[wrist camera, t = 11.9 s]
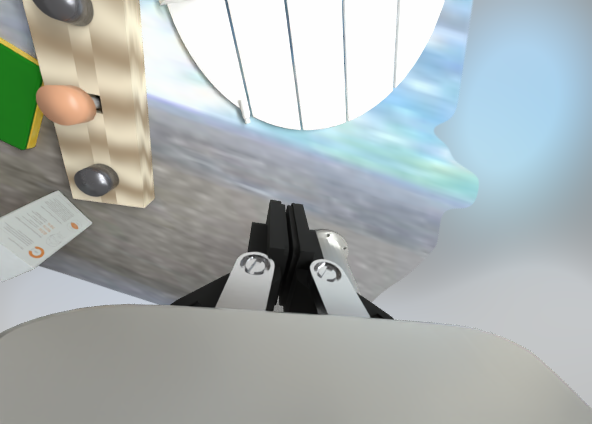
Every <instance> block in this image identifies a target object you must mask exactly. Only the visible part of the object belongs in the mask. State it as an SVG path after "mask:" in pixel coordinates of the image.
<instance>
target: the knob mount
mask: <svg viewBox="0 0 592 424" xmlns="http://www.w3.org/2000/svg"><path fill="white" fill-rule="evenodd" d="M22 1H23V5H24V8H25V12H26V16H27V20H28V24H29V28H30V32H31V36H32V40H33V44H34V47H35V51H36V55H37V59H38V63H39V67H40V71H41V75H42V79H43V82H44V86H45V85H72V86H76V87H79V88H81V89H82V90H84V91H85V92H86V93H88V94H89V96H90V97H98V98H99V99H100V100H101V106H102V108H100V109H96V115H95V117H94V119H93V120H91V121H89V122H85V123H80V124H75V125H69V126H65V125H60V124H57V123H55V122H54V125H55V129H56V133H57V137H58V141H59V145H60V149H61V153H62V157H63V160H64V164H65V168H66V172H67V176H68V180H69V184H70V188H71V192H72V195H73V199H80V200H88V201H95V202H103V203H110V204H118V205H125V206H133V207H140V208H145V207H146V206H147V205H148V204H149V203H150V202H151V201H153V200H154V199H155V196H154V183H153V170H152V158H151V145H150V132H149V119H148V106H147V94H146V81H145V68H144V55H143V42H142V30H141V17H140V4H139V0H91V2H92V5H93V10H94V15H93V19H92V21H91V22H90V23H89V24H88V25H86V26H76V25H72V24H69V23H66V22H63V21H60V20H56V19H53V18H51V17H49V16H47V15H46V14H44V13H43V12H42V11H41V10H40V9H39V8H38V7H37V6H36V5H35V3H34V2H33V0H22ZM97 163H100V164H105V165H107V166H109V167H111V168H112V169H113V170H114V171H115V172H116V173H117V175H118V177H119V184H118V186H117V187H115V188H114V189H112V190H111V191H109V192H108V193H106V194H105V195H103V196H100V197H93V196H89V195H87V194H85V193H83V192H82V191H81V190H80V189H79V188H78V187H77V186H76V184H75V181H74V176H75V174H76V173H77V172H78V171H80V170H82V169H84V168H86V167H89V166H91V165H93V164H97Z"/></svg>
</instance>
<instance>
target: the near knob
mask: <svg viewBox="0 0 592 424" xmlns="http://www.w3.org/2000/svg"><path fill="white" fill-rule="evenodd" d="M33 2H34V3H35V5H36V6H37V7H38V8H39V9H40V10H41V11H42V12H43V13H44V14H46V15H47V16H49V17H51V18H53V19H56V20H60V21H63V22H66V23H69V24H72V25H76V26H86V25H88V24H89V23H90V22H91V21H92V19H93V15H94V10H93V5H92V2H91V0H33Z"/></svg>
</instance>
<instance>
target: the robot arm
mask: <svg viewBox="0 0 592 424" xmlns="http://www.w3.org/2000/svg"><path fill="white" fill-rule="evenodd" d="M347 256H348V245H347V243H346V241H345V240H344V238H343V237H342V236H341V235H339V234H338V233H336V232H333V231H329V230H319V231H315V230H309V227H308V223H307V219H306V215H305V212H304V208H303V205H302V204H295V203H292V204H291V206H290V205H288V206H287V209H286V212H285V205H283V204H281V201H275V200H270V204H269V210H268V215H267V221H266V224H262V223H254V222H252V227H251V233H250V240H249V246H248V253H245V254H242V255H241V256H239V258H238V259H237V260H236V262H235V265H234V267H233V269H232V271H231V273H229V274H227V275H225V276H223V277H221V278H219V279H217V280H215V281H213V282H211V283H209V284H207V285H205V286H203V287H201V288H200V289H198V290H196V291H194V292H192V293H190V294H188V295H186V296H184V297H182V298H180V299H178V300H177V301H175V302H174V303H172V304H171V305H138V304H121V305H103V306H94V307H86V308H79V309H74V310H69V311H64V312H59V313H55V314H50V315H47V316H43V317H39V318H36V319H33V320H30V321H27V322H24V323H21V324H19V325H17V326H14V327H12V328H10V329H7V330H5V331H3V332H2V333H0V424H592V408H591V407H590V406H589V405H588V404H587V403H586V402H585V401H584V400H583V399H582V398H581V397H580V396H579V395H578V394H577V393H576V392H575V391H574V390H573V389H572V388H571V387H569V386H568V385H567V384H566V383H565V382H564V381H563V380H562V379H561V378H560V377H559V376H558V375H557V374H556V373H555V372H554V371H553V370H552V369H550V368H549V367H548V366H547V365H546V364H545V363H544V362H543V361H542V360H540V359H539V358H538V357H537V356H536V355H534V354H533V353H532V352H531V351H529V350H528V349H526V348H524V347H522V346H521V345H519V344H517V343H515V342H513V341H510V340H508V339H506V338H503V337H501V336H498V335H496V334H493V333H490V332H486V331H483V330H480V329H476V328H471V327H466V326H460V325H451V324H441V323H432V322H419V321H406V320H394V319H393V318H392V317H391V316H390V315H388V314H387V313H385V312H384V311H382V310H381V309H380V308H378V307H377V306H375V305H374V304H373V303H371V302H370V301H368V300H367V299H365V298H364V297H362V296H361V293H360V291H359V289H358V286H357V284H356V282H355V279H354V277H353V275H352V272H351V270H350V268H349V265H348V263H347V261H346V259H347ZM278 295H279V305H280V306H283V310H284V312H275V311H273V309H274V305H276V303H277V299H278Z"/></svg>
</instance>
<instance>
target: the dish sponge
mask: <svg viewBox="0 0 592 424" xmlns="http://www.w3.org/2000/svg"><path fill="white" fill-rule="evenodd" d="M42 86H44V82H43V79H42V75H41V71H40V67H39V63H38V60H37V59H35V58H33V57H32V56H30V55H28V54H27V53H25V52H23V51H22V50H20V49H18V48H17V47H15V46H13V45H12V44H10V43H8V42H7V41H5V40H3V39H2V38H0V140H2V141H4V142H6V143H8V144H10V145H12V146H14V147H16V148H18V149H20V150H24V149H28V148H32V147H35V145H36V141H37V137H38V133H39V129H40V125H41V122H42V118H43V113H42V111H41V110H40V108H39V107H38V104H37V101H36V93H37V91H38V89H39V88H40V87H42Z"/></svg>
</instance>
